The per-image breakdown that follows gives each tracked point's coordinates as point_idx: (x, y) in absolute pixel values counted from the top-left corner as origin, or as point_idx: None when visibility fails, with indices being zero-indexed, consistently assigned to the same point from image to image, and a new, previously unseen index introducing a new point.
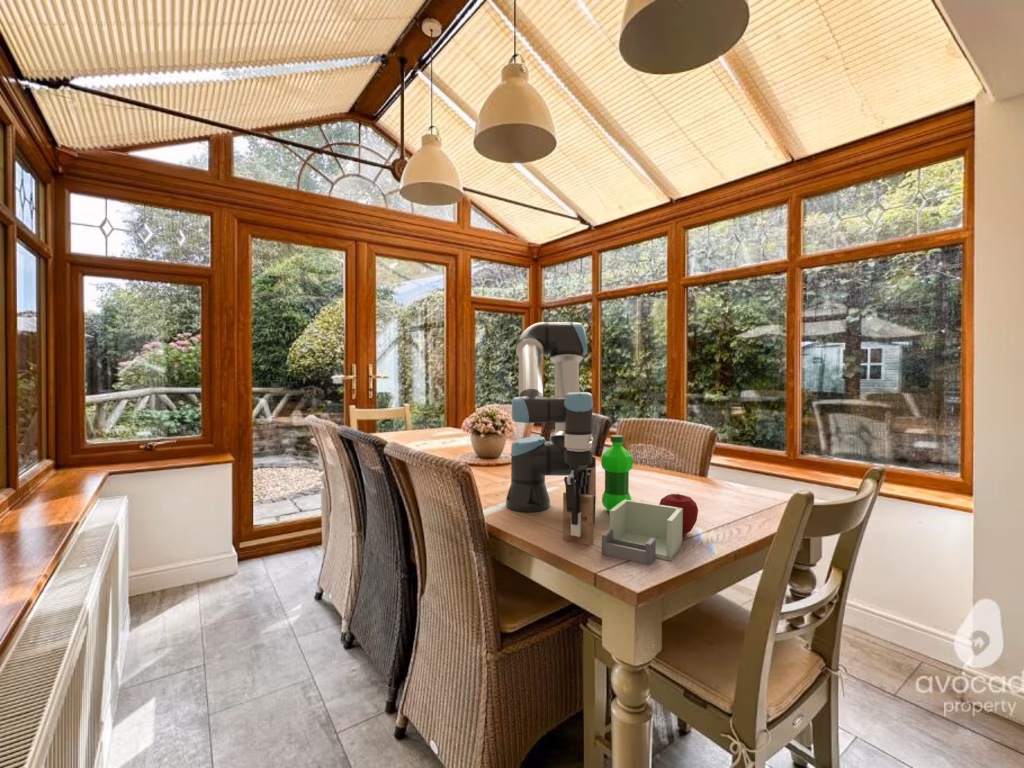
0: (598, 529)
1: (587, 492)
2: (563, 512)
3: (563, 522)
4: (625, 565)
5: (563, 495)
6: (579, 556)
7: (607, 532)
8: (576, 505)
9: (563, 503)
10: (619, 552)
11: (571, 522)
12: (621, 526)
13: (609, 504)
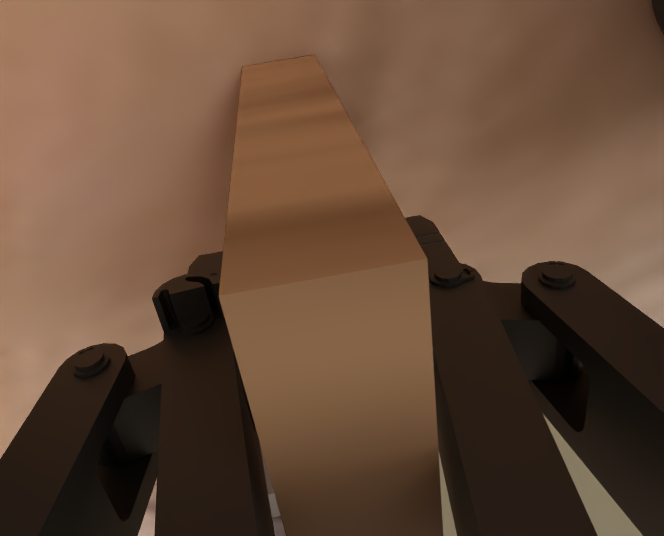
0: (625, 163)
1: (617, 499)
2: (236, 144)
3: (239, 108)
4: None
5: (224, 270)
6: (72, 339)
7: (275, 506)
8: (140, 509)
9: (232, 195)
10: None
11: (190, 269)
12: None
13: None
